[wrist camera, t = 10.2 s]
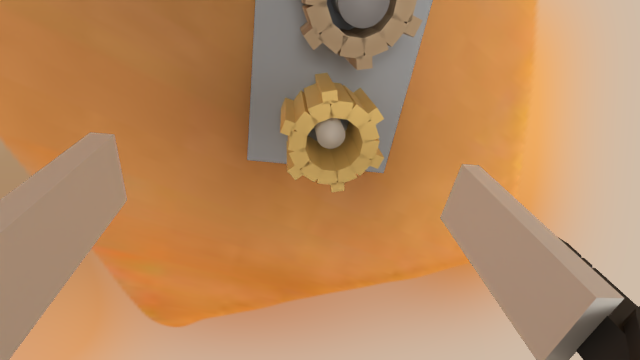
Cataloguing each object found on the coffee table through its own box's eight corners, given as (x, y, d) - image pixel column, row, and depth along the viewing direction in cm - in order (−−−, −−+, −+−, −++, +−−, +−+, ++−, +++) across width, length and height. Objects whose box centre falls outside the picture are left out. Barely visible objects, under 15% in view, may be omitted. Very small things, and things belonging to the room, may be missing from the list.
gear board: (262, -98, 23) (252, -138, 16) (441, -58, 25) (501, -78, 18) (248, 153, 33) (239, 196, 26) (379, 166, 35) (403, 209, 28)
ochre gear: (285, 66, 27) (285, 83, 22) (379, 80, 29) (400, 98, 24) (276, 156, 32) (274, 187, 26) (359, 164, 33) (373, 196, 28)
